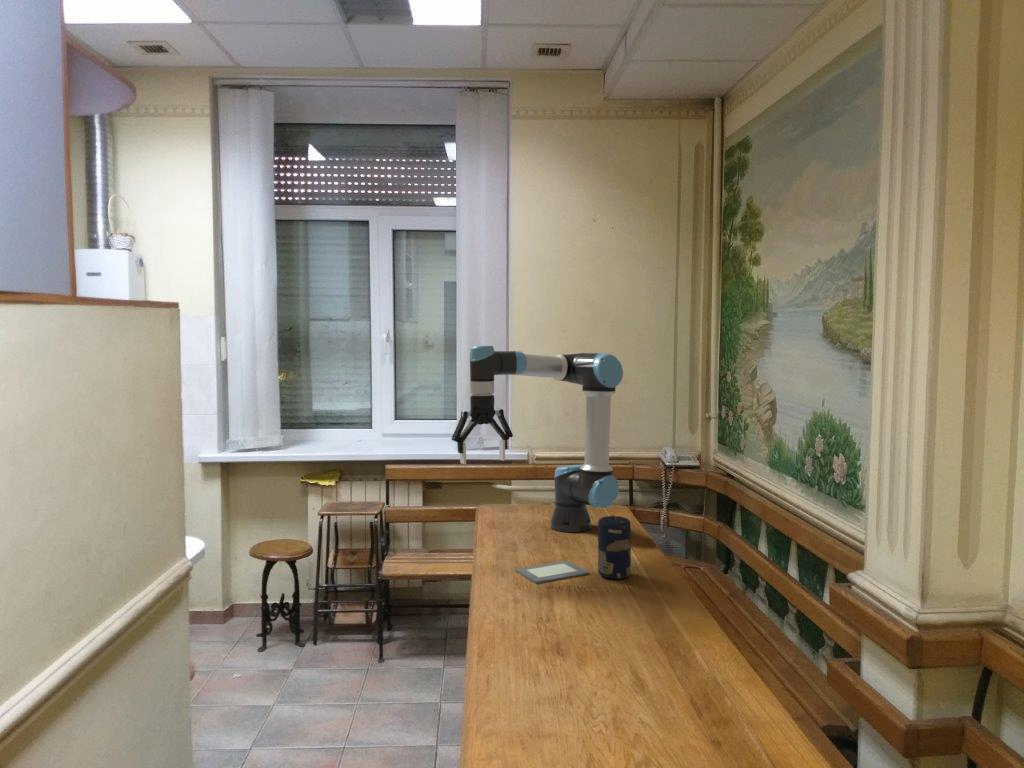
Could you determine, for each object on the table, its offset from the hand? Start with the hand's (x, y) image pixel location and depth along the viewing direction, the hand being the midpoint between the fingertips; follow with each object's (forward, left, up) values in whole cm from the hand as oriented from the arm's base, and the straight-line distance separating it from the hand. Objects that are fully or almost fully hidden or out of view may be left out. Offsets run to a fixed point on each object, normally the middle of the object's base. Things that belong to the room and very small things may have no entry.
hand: (483, 461), depth 228 cm
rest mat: (-12, +22, -31) cm, 40 cm away
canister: (-28, +33, -32) cm, 53 cm away
